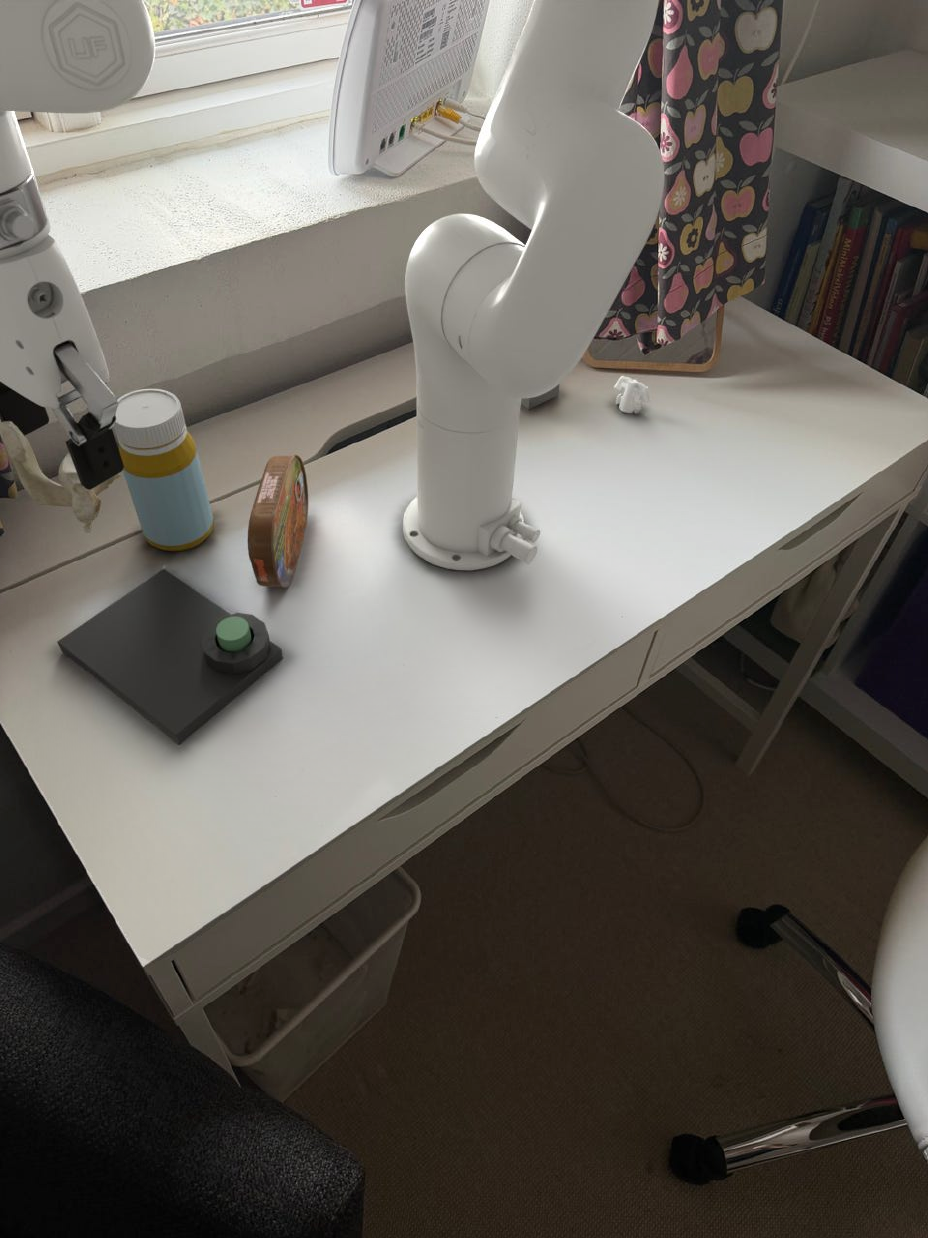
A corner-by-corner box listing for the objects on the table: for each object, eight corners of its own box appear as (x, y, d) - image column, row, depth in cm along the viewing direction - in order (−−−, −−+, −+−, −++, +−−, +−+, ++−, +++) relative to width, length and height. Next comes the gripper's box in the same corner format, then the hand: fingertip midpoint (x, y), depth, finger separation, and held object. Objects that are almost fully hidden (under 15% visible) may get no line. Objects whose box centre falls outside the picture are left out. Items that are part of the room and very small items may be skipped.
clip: (648, 413, 107) (654, 386, 104) (640, 419, 106) (646, 392, 103) (614, 397, 109) (619, 370, 106) (605, 403, 108) (610, 376, 105)
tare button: (258, 638, 78) (255, 626, 77) (234, 657, 76) (231, 645, 75) (236, 623, 79) (233, 611, 78) (212, 641, 77) (209, 630, 76)
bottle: (198, 559, 88) (165, 435, 77) (133, 548, 88) (90, 424, 77) (225, 514, 92) (197, 391, 81) (162, 504, 93) (126, 380, 82)
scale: (286, 656, 80) (282, 634, 78) (179, 745, 73) (171, 724, 71) (169, 576, 86) (163, 554, 84) (61, 651, 79) (50, 629, 77)
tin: (286, 606, 84) (274, 541, 78) (253, 604, 84) (239, 539, 78) (312, 502, 94) (304, 437, 88) (283, 501, 94) (272, 436, 88)
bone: (167, 489, 67) (70, 423, 58) (117, 559, 66) (12, 503, 57) (101, 445, 70) (1, 377, 62) (54, 511, 70) (-54, 452, 61)
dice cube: (501, 390, 109) (503, 354, 105) (530, 376, 111) (534, 341, 108) (528, 409, 107) (531, 373, 103) (558, 395, 109) (562, 359, 105)
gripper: (123, 232, 50) (186, 478, 63) (-50, 150, 56) (39, 387, 69) (3, 281, 45) (97, 533, 58) (-168, 186, 52) (-50, 430, 65)
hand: (65, 452), depth 64 cm, fingers closed on bone, 8 cm apart
